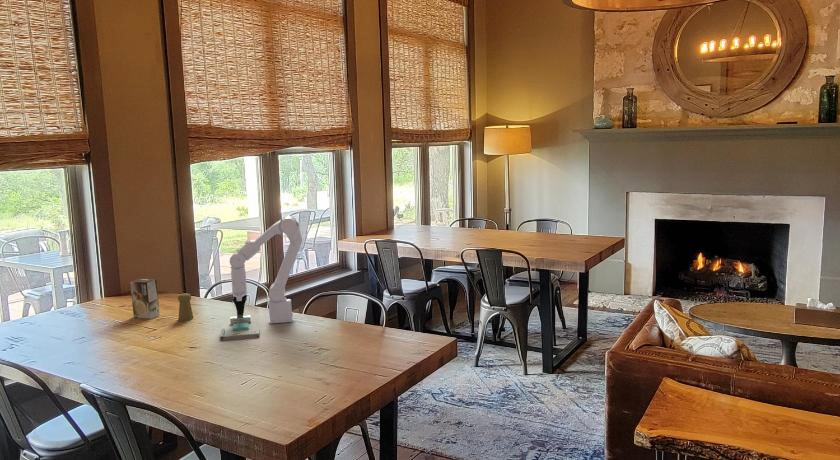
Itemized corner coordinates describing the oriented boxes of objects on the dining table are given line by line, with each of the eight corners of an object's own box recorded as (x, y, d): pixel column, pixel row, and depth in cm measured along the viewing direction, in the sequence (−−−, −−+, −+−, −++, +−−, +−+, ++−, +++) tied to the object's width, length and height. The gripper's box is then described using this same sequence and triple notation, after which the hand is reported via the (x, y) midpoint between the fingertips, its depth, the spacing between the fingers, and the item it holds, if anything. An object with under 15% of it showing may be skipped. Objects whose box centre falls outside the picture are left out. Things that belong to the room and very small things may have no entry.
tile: (248, 326, 259) (248, 322, 259) (248, 330, 254) (248, 327, 253) (233, 327, 258) (233, 324, 258) (233, 332, 252) (232, 328, 252)
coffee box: (160, 315, 276) (157, 279, 273) (150, 319, 270) (147, 282, 267) (143, 313, 278) (140, 277, 276) (132, 317, 272) (129, 281, 270)
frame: (259, 329, 254) (259, 325, 253) (259, 337, 244) (259, 333, 244) (221, 332, 250) (221, 328, 250) (220, 340, 240) (220, 336, 240)
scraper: (250, 320, 265) (249, 302, 263) (250, 322, 263) (249, 304, 261) (230, 322, 263) (229, 304, 261) (230, 324, 261) (229, 305, 259)
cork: (190, 320, 266) (188, 295, 265) (176, 321, 266) (174, 295, 265) (195, 316, 272) (193, 291, 271) (181, 316, 272) (179, 292, 271)
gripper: (229, 278, 266) (231, 309, 268) (227, 286, 252) (229, 319, 254) (246, 277, 268) (248, 308, 270) (246, 285, 254) (248, 317, 256)
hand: (240, 313), depth 262 cm, fingers closed on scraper, 2 cm apart
